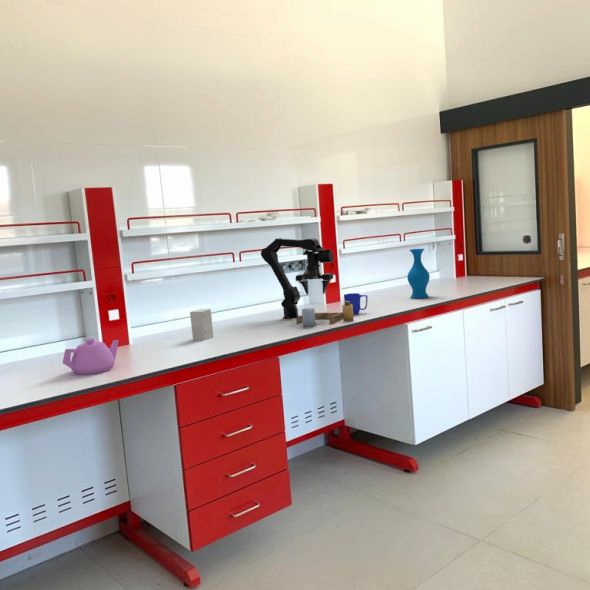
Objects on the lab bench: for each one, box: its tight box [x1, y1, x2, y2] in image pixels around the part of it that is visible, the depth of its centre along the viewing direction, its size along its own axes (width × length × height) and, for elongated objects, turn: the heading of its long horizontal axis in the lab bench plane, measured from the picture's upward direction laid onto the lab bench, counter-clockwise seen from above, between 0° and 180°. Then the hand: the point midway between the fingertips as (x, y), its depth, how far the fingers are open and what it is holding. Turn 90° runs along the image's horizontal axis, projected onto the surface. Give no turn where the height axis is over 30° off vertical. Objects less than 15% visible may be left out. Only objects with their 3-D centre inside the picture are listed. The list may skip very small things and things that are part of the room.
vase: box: [407, 248, 431, 299], centre depth 352 cm, size 12×13×28 cm
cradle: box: [295, 311, 343, 325], centre depth 299 cm, size 19×14×3 cm
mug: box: [343, 292, 369, 315], centre depth 313 cm, size 8×12×10 cm
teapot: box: [62, 338, 120, 376], centre depth 227 cm, size 22×16×12 cm
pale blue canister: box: [301, 307, 316, 328], centre depth 288 cm, size 6×9×8 cm
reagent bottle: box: [341, 300, 355, 322], centre depth 294 cm, size 5×5×9 cm
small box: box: [189, 308, 214, 341], centre depth 276 cm, size 8×6×13 cm
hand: (315, 294), depth 309 cm, fingers open, 9 cm apart
